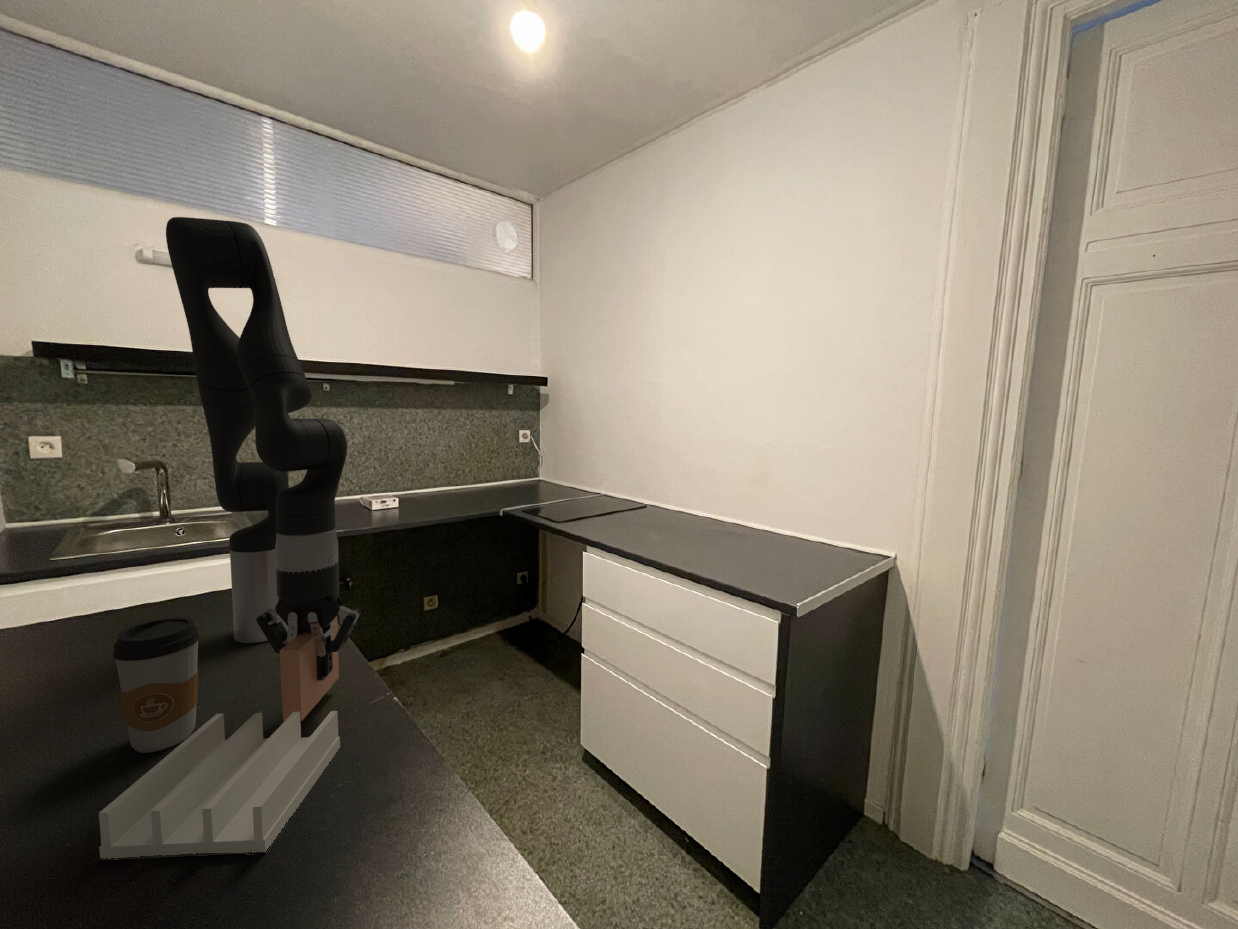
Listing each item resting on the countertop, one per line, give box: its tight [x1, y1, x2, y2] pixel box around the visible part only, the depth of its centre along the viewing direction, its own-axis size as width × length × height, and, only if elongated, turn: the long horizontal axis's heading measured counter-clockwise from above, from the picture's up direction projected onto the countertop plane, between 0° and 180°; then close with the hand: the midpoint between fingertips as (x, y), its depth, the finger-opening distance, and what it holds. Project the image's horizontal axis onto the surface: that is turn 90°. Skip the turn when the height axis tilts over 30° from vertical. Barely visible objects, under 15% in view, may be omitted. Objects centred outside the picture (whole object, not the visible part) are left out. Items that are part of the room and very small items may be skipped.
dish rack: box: [98, 710, 341, 859], centre depth 57 cm, size 16×15×5 cm
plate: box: [279, 615, 340, 722], centre depth 73 cm, size 11×2×10 cm, turn 5°
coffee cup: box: [112, 616, 201, 753], centre depth 66 cm, size 8×8×15 cm
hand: (312, 677), depth 73 cm, fingers closed on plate, 2 cm apart
